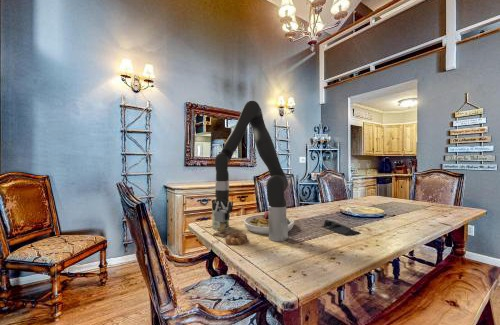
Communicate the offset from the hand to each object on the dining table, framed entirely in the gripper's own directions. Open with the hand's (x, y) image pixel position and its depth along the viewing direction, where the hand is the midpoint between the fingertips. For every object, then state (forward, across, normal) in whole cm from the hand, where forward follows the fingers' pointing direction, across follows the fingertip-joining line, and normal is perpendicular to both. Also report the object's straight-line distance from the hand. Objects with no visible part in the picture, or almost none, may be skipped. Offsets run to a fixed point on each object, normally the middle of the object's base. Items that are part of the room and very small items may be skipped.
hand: (222, 219), depth 126 cm
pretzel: (+9, -13, +4) cm, 17 cm away
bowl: (+9, -16, -25) cm, 31 cm away
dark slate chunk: (+9, -54, -43) cm, 69 cm away
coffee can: (+9, +10, -10) cm, 16 cm away
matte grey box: (+1, 0, 0) cm, 1 cm away
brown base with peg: (+9, 0, 0) cm, 9 cm away
